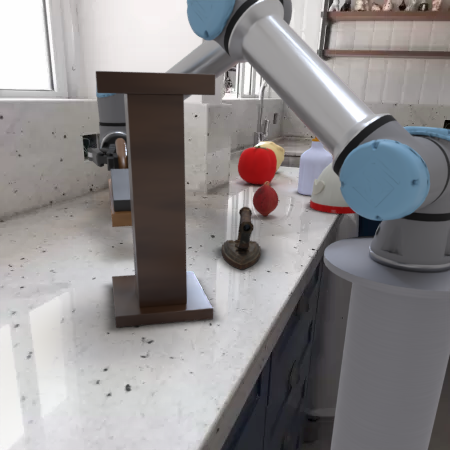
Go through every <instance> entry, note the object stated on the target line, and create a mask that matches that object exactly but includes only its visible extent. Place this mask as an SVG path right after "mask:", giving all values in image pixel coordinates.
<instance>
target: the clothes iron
mask: <svg viewBox="0 0 450 450" xmlns="http://www.w3.org/2000/svg"><path fill="white" fill-rule="evenodd" d="M238 214H239V224H238V231H237V232H238V233H237V239H229V240H228V239H227V240H226V241H224V242H223V243H222V245H221V256H222V258H223V259H224V261H225V262H226V263H228V264H229V265H230V266H232V267H234V268H235V269H238V270H246V269H248V268H250V267H252V266H253V265H255V264H256V263H257V262H258V261H259V259H260V258H261V254H262V253H261V252H262V247H261V245H260V244H259V243H258V241H256V240H251V237H252V233H253V231H254V230H255V229H254V228H255V226H254V224H253V223H252V215H253V211H252V209H251V208H250V207H249V206H243V207H241V208H240V209H239V211H238Z"/></svg>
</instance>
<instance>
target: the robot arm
mask: <svg viewBox="0 0 450 450" xmlns="http://www.w3.org/2000/svg"><path fill="white" fill-rule="evenodd" d="M292 15H293V3H292V0H186V16H187V21H188V24H189V27H190V29H191V30H192V32H193V33H194V34H195V35H196V36H197V37H198V38H201V39H203V40H204V41H203V42H202V43H200V44H199V45H198V46H197V47H195V48H194V49H192V50H191V51H190V53H188V54H187V55H185V56H184V57H183V58H182V59H180V60H179V61H178V62H177V63H175V64H174V65H173V66H171V67H170V68H169V69H168V70H167V71H165V72H164V73H191V74H215V80H216V79H218V78H220V77H221V76H222V75H224V74H225V73H227V72H228V71H230V70H231V69H232V68H234V67H235V66H237V65H239V64H244V63H245V64H246V63H248V64H249V65H250V66H251V68H252V69H253V70H254V71H255V72H256V73H257V74H258V75H259V76H260V77H261V78H262V80H264V81H265V83H266V84H267V85H268V86H269V87H270V88H271V89H272V91H273V92H275V94H276V95H277V97H279V98H280V99H281V101H282V102H283V103H284V104H285V105H286V106H287V107H288V108H289V109H290V111H292V113H293V114H294V115H295V116H296V117H297V118H298V119H299V120H300V121H301V122H302V123H303V125H305V127H306V128H307V129H308V130H309V131H310V132H311V133H312V134H313V136H314V137H315V136H316V138H317V139H318V140H319V141H320V142H321V143H322V144H323V147H324V148H325V150H327V151H328V152H329V153H330V154H331V155H332V159H333V161H332V169H333V171H334V172H335V173H336V174H337V175H338V177H339V180H340V181H341V187H340V190H341V193H342V196H343V198H344V200H345V201H346V203H347V204H348V206H349V207H350V208H351V209H352V210H353V211H354V212H356V213H355V214H357V215H359V216H360V217H362V218H365V219H367V220H371V221H378V222H380V223H379V224H378V226H377V229H376V231H375V234H374V235H373V236H374V238H373V240H372V242H371V245H370V249H369V257H370V258H371V259H372V260H373V261H375V262H377V263H379V264H381V265H384V266H387V267H390V268H394V269H398V270H403V271H410V272H420V273H436V272H444V271H448V270H450V129H449V128H443V127H433V126H432V127H431V126H416V125H414V126H412V125H411V126H409V125H407V126H403V125H402V124H401V123H400V122H399V121H398V120H397V119H396V118H395V117H394V116H393V115H392V114H391V113H388V112H387V113H386V112H385V113H384V112H383V113H375V112H374V111H373V110H372V109H371V108H370V107H369V106H368V105H367V104H366V103H365V102H364V101H363V100H362V99H361V98H360V97H359V96H358V95H357V94H356V93H355V91H353V90H352V89H351V88H350V86H349V85H348V84H347V83H346V82H344V80H343V79H342V78H340V76H339V75H338V74H337V73H336V72H335V71H334V70H333V69H332V68H331V67H330V66H329V65H328V64H327V63H326V62H325V61H324V59H323V58H321V57H320V55H319V54H318V53H317V52H316V51H314V50H313V48H312V47H310V45H309V44H308V43H307V42H306V41H305V40H304V39H303V38H302V37H301V36H300V35H299V34H298V32H296V31H295V30H294V29H293V28H292V27H291V26H290V25H291V24H290V23H291V21H292ZM95 96H96V102H97V110H98V112H97V113H98V128H99V129H98V130H99V148H95V147H87V157H88V158H87V159H88V161H89V162H92V163H94V164H95V166H97V167H100V168H103V167H105V165H107V166H106V168H107V171H109V172H111V171H110V169H119V163H118V155H117V153H116V146H115V141H116V140H117V139H118V138H122V139H124V140H125V142H126V150H127V136H126V119H125V103H124V94H116V93H97V87H96V86H95ZM190 97H192V95H184V101H185V100H187V99H188V98H190ZM127 158H128V152H127Z"/></svg>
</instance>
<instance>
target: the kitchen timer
mask: <svg viewBox="0 0 450 450" xmlns="http://www.w3.org/2000/svg"><path fill="white" fill-rule="evenodd" d="M340 187H341V181H340V180H339V177H338V175H337V174H336V173H335V172H334V171H333V169H332V163H330V164H329V165H328V166H327V167H326V168H325V169H324V170H323V171H322V173H321V174H320V176H319V177H318V179H315V180H314V184H313V192H312V195H311V196H310V201H309V207H310V208H311V209H312V210H315V211H318V212H322V213H328V214H338V215H339V214H341V215H349V214H350V215H351V214H353V215H354V214H357V213H356V212H354V211H353V210H352V209H351V208H350V207H349V206H348V204H347V203H346V201H345V200H344V198H343V196H342V193H341V190H340Z"/></svg>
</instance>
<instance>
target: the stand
mask: <svg viewBox="0 0 450 450" xmlns="http://www.w3.org/2000/svg"><path fill="white" fill-rule="evenodd" d="M96 87H97V93H116V94H124V103H125V119H126V136H127V152H128V169H129V185H130V202H131V218H132V226H131V230H132V231H131V232H132V249H133V250H132V251H133V265H134V266H133V267H134V274H130V275H129V274H127V275H114V276H111V283H112V285H111V286H112V295H113V296H112V297H113V306H114V319H115V328H128V327H137V326H149V325H150V326H151V325H159V324H170V323H171V324H172V323H181V322H193V321H206V320H213V319H214V307H213V305H212V303H211V301H210V300H209V298H208V296H207V294H206V292H205V291H204V289H203V287H202V285H201V283H200V281H199V278H198V277H197V276H196V274H195V272H194V271H193V270H191V271H190V270H188V271H187V220H186V219H187V218H186V216H187V215H186V213H187V212H186V157H185V155H186V150H185V149H186V147H185V100H184V95H191V96H216V79H215V74H191V73H165V72H152V71H115V70H114V71H113V70H95V88H96Z"/></svg>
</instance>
